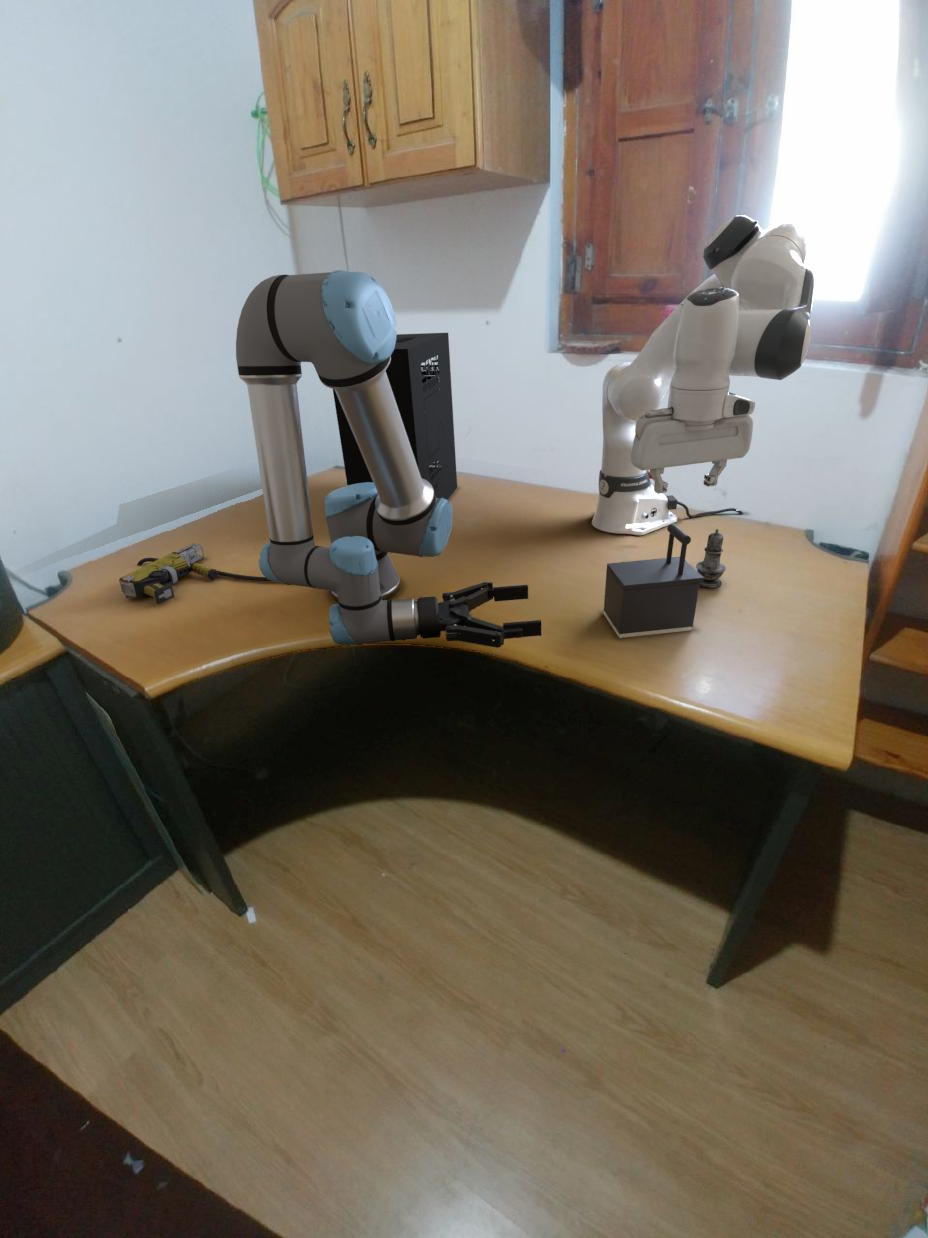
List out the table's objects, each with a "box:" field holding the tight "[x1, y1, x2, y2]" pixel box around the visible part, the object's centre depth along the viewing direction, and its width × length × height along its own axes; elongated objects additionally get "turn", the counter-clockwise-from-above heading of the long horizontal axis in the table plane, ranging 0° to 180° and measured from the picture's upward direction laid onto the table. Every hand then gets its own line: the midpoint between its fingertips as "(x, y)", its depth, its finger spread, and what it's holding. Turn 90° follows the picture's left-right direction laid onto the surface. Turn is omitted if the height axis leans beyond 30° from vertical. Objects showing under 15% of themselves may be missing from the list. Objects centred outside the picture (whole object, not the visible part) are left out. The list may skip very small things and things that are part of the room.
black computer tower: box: [332, 332, 458, 501], centre depth 169 cm, size 38×20×45 cm, turn 167°
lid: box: [606, 523, 704, 590], centre depth 109 cm, size 15×9×9 cm, turn 97°
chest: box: [602, 568, 700, 639], centre depth 113 cm, size 14×9×10 cm
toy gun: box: [118, 542, 219, 605], centre depth 141 cm, size 5×24×15 cm
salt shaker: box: [695, 528, 727, 589], centre depth 125 cm, size 6×6×12 cm
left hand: (534, 608), depth 110 cm, fingers open, 13 cm apart
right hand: (685, 488), depth 103 cm, fingers open, 8 cm apart
